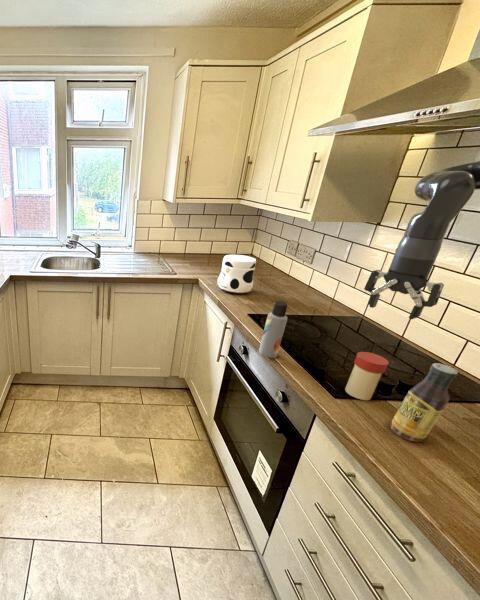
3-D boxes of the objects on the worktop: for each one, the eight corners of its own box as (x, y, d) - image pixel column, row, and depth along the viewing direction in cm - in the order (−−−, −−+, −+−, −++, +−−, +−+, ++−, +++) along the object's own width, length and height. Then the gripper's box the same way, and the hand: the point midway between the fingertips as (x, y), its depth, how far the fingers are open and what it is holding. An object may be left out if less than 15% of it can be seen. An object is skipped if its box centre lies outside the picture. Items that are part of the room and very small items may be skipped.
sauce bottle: (382, 424, 81) (414, 358, 73) (407, 424, 81) (441, 358, 73) (405, 444, 75) (443, 375, 67) (432, 445, 74) (473, 375, 67)
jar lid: (387, 376, 84) (391, 367, 83) (355, 368, 87) (358, 360, 86) (382, 364, 89) (386, 356, 88) (352, 357, 93) (355, 349, 91)
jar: (358, 386, 95) (372, 354, 90) (377, 400, 89) (392, 366, 85) (339, 387, 94) (352, 355, 90) (356, 400, 89) (370, 367, 85)
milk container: (209, 286, 176) (214, 255, 169) (234, 283, 181) (240, 253, 174) (232, 297, 161) (239, 263, 154) (258, 294, 166) (266, 261, 159)
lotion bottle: (279, 355, 111) (294, 302, 103) (271, 360, 108) (286, 306, 100) (263, 348, 115) (276, 297, 107) (255, 352, 112) (268, 301, 105)
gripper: (461, 259, 76) (432, 319, 82) (387, 247, 88) (366, 301, 94) (449, 263, 73) (420, 325, 79) (374, 250, 85) (353, 305, 91)
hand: (391, 312), depth 87 cm, fingers open, 8 cm apart
